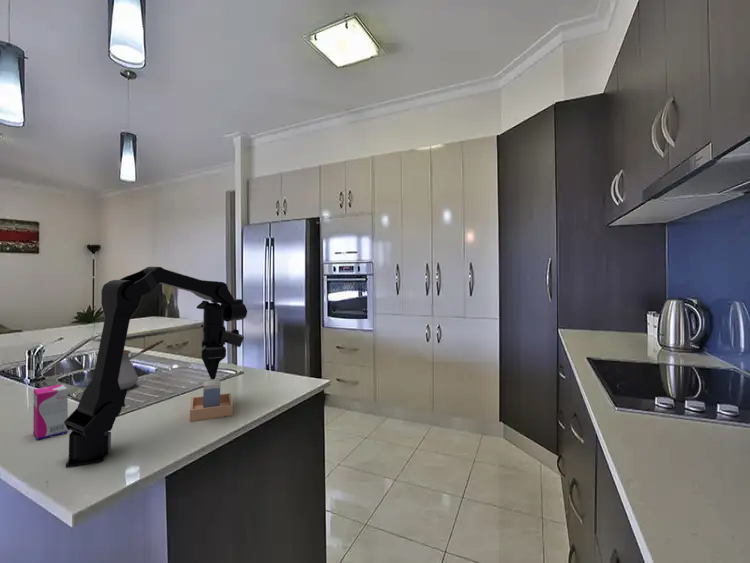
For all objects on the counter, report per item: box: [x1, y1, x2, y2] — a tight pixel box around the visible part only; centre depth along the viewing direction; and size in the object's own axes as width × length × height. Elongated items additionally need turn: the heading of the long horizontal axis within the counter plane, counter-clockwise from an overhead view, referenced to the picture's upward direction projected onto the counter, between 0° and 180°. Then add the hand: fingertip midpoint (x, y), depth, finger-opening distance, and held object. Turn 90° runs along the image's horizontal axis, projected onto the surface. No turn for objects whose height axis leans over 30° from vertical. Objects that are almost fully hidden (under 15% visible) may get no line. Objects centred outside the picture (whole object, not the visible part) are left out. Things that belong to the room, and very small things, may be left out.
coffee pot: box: [118, 339, 166, 390], centre depth 128 cm, size 21×12×15 cm, turn 149°
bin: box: [189, 393, 234, 422], centre depth 106 cm, size 11×11×3 cm
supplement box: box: [32, 383, 69, 441], centre depth 89 cm, size 6×6×12 cm
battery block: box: [202, 379, 221, 408], centre depth 106 cm, size 4×4×8 cm
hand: (212, 374), depth 106 cm, fingers open, 9 cm apart
